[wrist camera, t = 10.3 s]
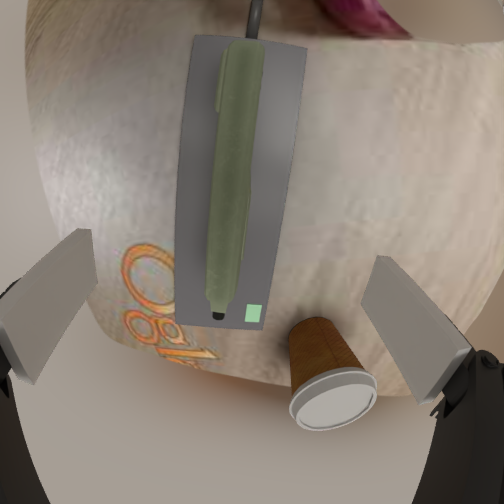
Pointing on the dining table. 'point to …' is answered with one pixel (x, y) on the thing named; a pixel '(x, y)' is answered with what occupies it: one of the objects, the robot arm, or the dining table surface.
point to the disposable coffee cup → (326, 378)
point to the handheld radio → (232, 169)
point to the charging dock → (262, 182)
